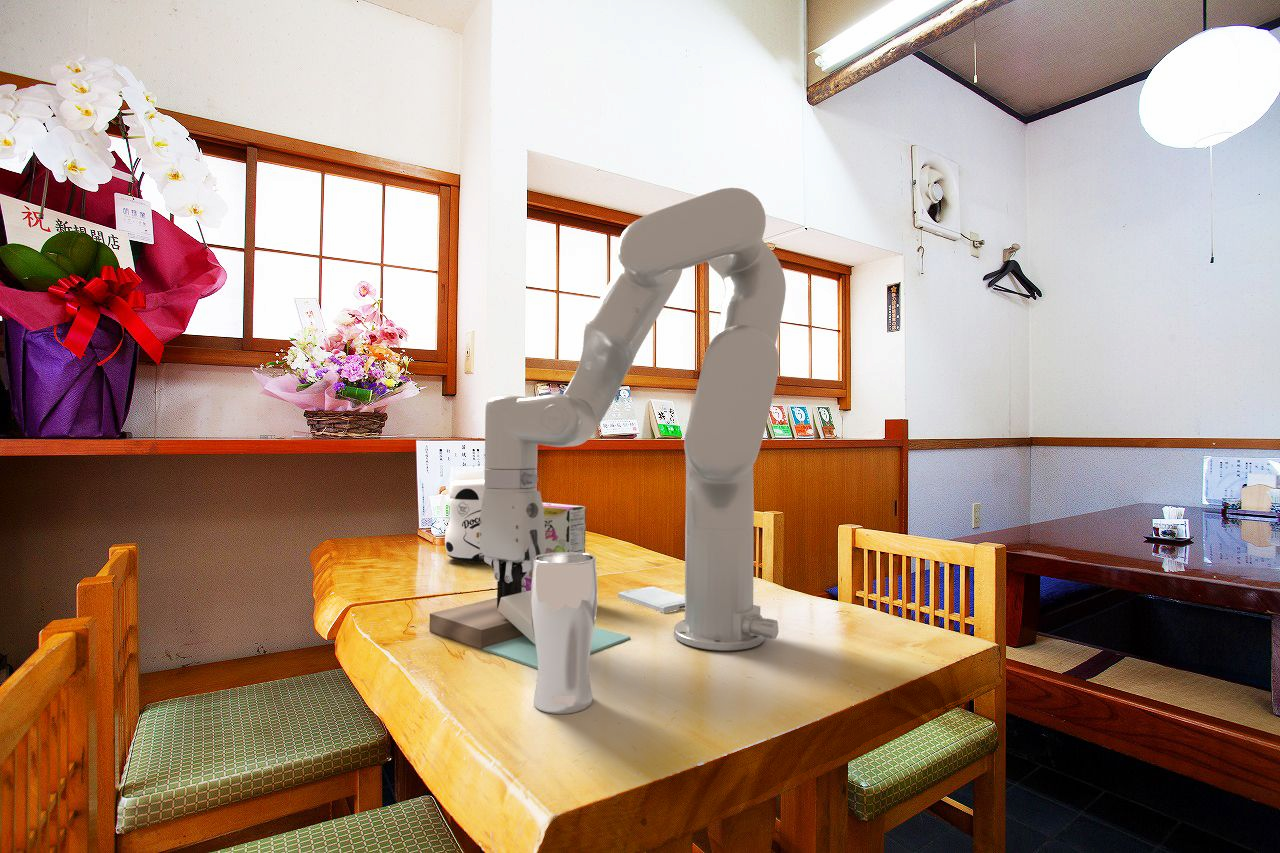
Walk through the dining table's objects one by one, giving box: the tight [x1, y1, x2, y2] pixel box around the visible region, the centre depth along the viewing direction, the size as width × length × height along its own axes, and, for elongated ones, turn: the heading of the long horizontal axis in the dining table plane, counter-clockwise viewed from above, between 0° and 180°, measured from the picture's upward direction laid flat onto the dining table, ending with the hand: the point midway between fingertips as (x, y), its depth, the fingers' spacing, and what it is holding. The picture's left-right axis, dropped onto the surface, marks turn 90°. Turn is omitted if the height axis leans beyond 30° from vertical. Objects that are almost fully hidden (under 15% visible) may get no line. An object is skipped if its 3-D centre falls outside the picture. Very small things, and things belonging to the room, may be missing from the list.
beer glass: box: [531, 552, 599, 715], centre depth 64 cm, size 7×7×15 cm
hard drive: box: [617, 586, 685, 614], centre depth 105 cm, size 2×8×12 cm
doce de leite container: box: [444, 479, 486, 563], centre depth 142 cm, size 17×17×18 cm
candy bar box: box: [522, 501, 587, 592], centre depth 106 cm, size 11×5×16 cm, turn 58°
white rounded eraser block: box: [498, 591, 535, 644], centre depth 85 cm, size 9×6×2 cm, turn 50°
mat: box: [482, 626, 631, 670], centre depth 82 cm, size 12×16×1 cm
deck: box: [429, 597, 524, 650], centre depth 90 cm, size 12×16×2 cm
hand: (509, 607), depth 89 cm, fingers closed
